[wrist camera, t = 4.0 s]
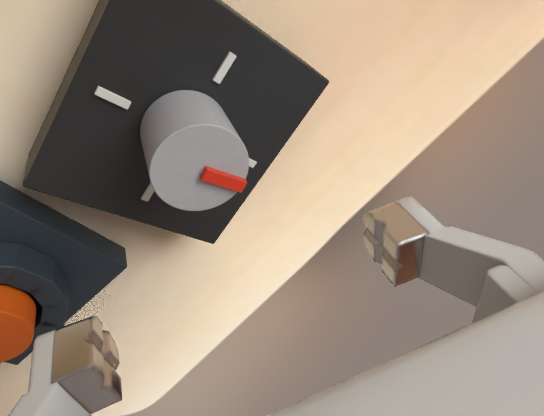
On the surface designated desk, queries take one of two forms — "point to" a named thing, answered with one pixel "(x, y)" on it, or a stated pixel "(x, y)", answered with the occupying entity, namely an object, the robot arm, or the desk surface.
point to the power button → (15, 322)
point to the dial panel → (154, 84)
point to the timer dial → (192, 151)
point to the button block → (52, 260)
